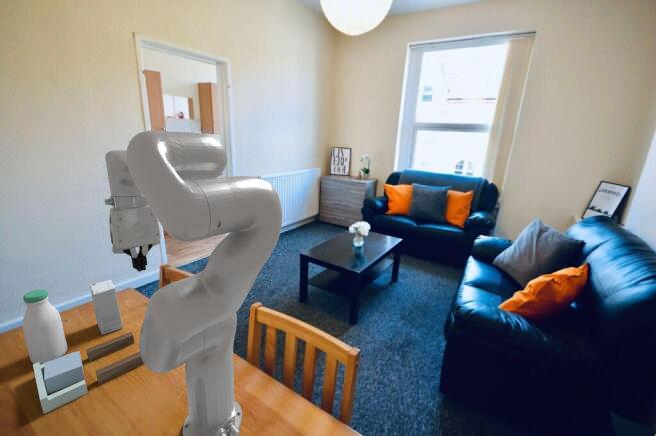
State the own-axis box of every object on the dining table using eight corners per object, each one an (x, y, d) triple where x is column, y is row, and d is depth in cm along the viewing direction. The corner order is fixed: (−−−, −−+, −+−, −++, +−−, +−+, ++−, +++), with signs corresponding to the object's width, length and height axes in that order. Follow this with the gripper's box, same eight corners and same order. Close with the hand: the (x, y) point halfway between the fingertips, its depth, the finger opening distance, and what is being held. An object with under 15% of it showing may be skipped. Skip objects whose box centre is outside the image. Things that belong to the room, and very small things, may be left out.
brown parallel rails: (146, 362, 83) (145, 353, 82) (99, 384, 75) (97, 375, 74) (132, 339, 91) (131, 331, 90) (87, 358, 83) (86, 349, 82)
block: (84, 379, 76) (81, 365, 75) (48, 394, 72) (44, 379, 70) (82, 364, 81) (79, 350, 80) (47, 376, 77) (44, 362, 75)
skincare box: (123, 328, 96) (116, 288, 92) (100, 336, 92) (92, 294, 88) (118, 316, 102) (111, 278, 98) (96, 323, 98) (88, 283, 93)
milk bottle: (70, 355, 84) (56, 293, 78) (32, 370, 78) (14, 304, 73) (66, 342, 89) (52, 283, 83) (30, 354, 83) (13, 292, 78)
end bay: (87, 392, 72) (85, 379, 71) (43, 414, 67) (40, 400, 66) (75, 360, 82) (73, 348, 81) (36, 376, 76) (32, 364, 75)
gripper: (98, 208, 64) (111, 283, 69) (169, 199, 76) (176, 265, 80) (89, 203, 69) (102, 274, 74) (157, 195, 80) (164, 257, 85)
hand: (140, 269), depth 77 cm, fingers closed
